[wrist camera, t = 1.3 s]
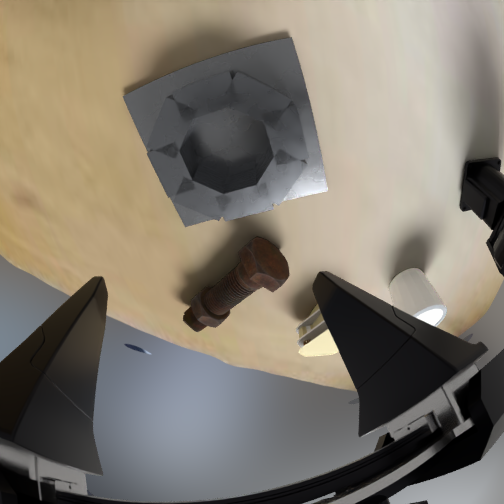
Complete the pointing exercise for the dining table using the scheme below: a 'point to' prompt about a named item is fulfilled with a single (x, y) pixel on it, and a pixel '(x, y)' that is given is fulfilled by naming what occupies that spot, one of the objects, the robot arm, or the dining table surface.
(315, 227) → the dining table surface
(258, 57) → the socket block
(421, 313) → the shot glass
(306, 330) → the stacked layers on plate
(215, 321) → the bolt
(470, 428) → the robot arm
